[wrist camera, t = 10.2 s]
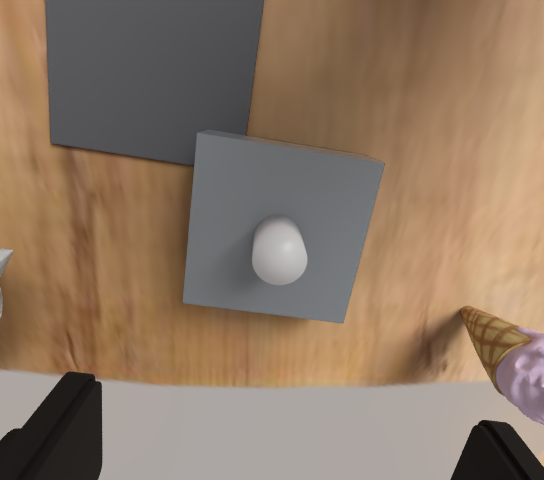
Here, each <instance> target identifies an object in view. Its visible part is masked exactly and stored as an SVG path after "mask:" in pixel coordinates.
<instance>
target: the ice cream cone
mask: <svg viewBox="0 0 544 480" xmlns="http://www.w3.org/2000/svg"><path fill="white" fill-rule="evenodd" d="M461 315H462V318H463V320H464V323H465V326H466V328H467V331H468V333H469V336H470V338H471V341H472V343H473V345H474V348H475V350H476V352H477V354H478V356H479V358H480V361H481V363H482V365H483V367H484V368H485V370H486V372H487V374H488V376H489V378H490V379H491V381H492V383H493V385H494V387H495V388H496V389H497V391H498V392H499V393H500V394H502V395H504V396H505V397H506V398H507V399H508V401H510V402H511V403H512V404H514V405H515V406H516V407H518V409H519V410H520V411H521V412H522V413H523V414H524V415H526V416H527V417H529V418H530V419H532V420H533V421H536V422H539V423H541V424H543V425H544V334H542V333H539V332H538V331H537V330H534V329H529V328H521V327H519V326H516V325H514V324H512V323H510V322H507V321H505V320H503V319H500V318H498V317H496V316H493V315H491V314H488V313H486V312H483V311H480V310H478V309H475V308H473V307H470V306H465V307H463V308H462V310H461Z"/></svg>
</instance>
